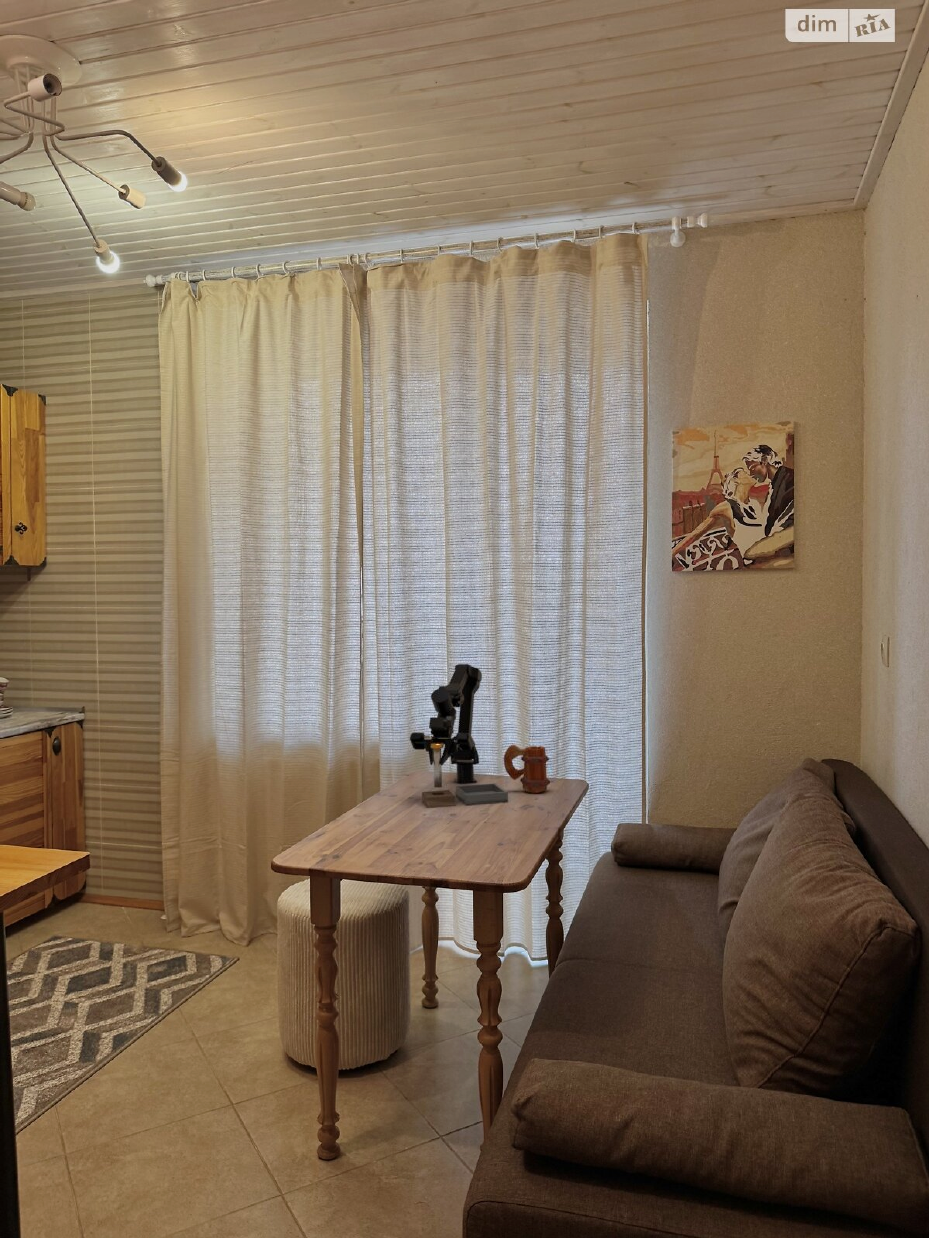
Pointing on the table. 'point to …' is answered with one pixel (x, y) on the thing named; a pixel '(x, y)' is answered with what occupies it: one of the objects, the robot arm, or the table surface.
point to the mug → (528, 767)
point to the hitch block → (438, 798)
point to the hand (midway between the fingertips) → (436, 764)
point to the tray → (481, 794)
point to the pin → (437, 763)
